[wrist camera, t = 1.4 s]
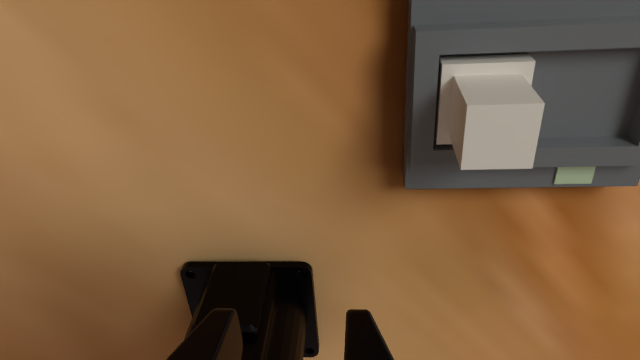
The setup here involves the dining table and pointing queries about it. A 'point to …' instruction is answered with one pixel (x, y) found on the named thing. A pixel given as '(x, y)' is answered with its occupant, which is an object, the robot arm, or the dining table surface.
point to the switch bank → (548, 81)
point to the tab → (488, 110)
